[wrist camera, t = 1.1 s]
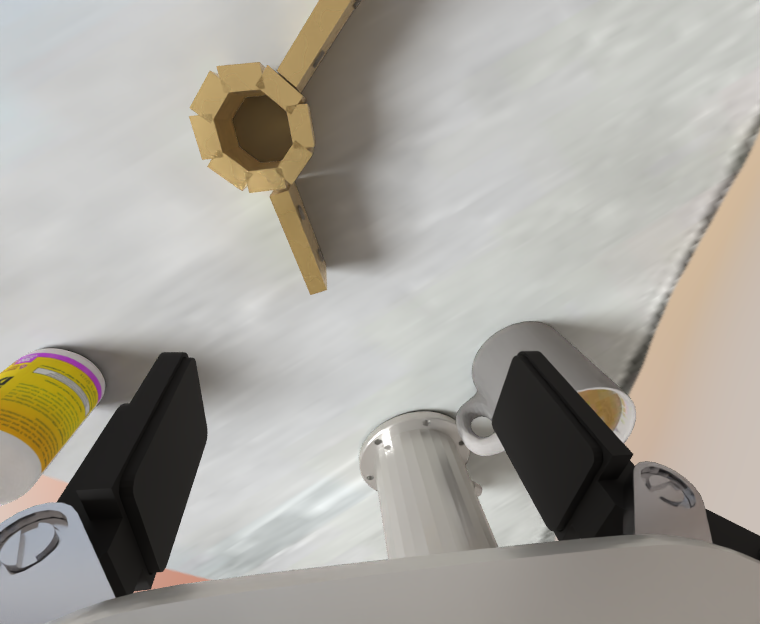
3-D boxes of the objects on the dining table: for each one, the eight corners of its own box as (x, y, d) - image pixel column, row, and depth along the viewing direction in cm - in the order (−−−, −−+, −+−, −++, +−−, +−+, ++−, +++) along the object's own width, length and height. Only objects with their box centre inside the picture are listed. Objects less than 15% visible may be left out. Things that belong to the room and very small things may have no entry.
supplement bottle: (48, 330, 29) (-123, 461, 18) (125, 377, 32) (20, 515, 21) (0, 378, 31) (-185, 528, 19) (79, 419, 34) (-44, 570, 22)
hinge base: (407, 10, 23) (427, -15, 19) (280, 197, 27) (273, 212, 23) (324, -84, 21) (324, -140, 16) (197, 137, 25) (171, 141, 20)
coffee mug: (564, 309, 36) (643, 371, 27) (562, 386, 40) (630, 460, 32) (432, 346, 35) (468, 421, 27) (446, 419, 40) (481, 502, 31)
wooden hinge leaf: (275, 184, 27) (267, 197, 22) (295, 178, 27) (290, 189, 22) (310, 269, 30) (308, 295, 26) (327, 264, 30) (328, 289, 26)
